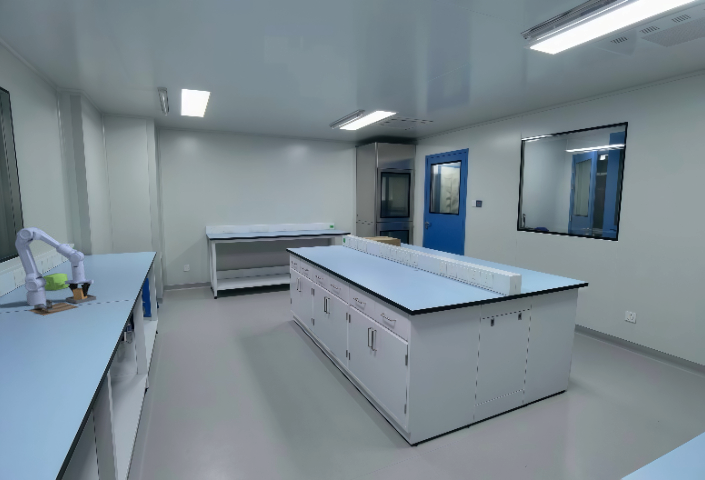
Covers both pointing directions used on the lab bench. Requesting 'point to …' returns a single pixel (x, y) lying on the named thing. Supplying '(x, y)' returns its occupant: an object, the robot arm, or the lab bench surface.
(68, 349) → the lab bench surface
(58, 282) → the green rough block
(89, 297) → the tray
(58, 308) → the crank board
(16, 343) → the lab bench surface
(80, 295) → the stop block
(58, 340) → the lab bench surface
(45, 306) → the crank
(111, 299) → the lab bench surface
